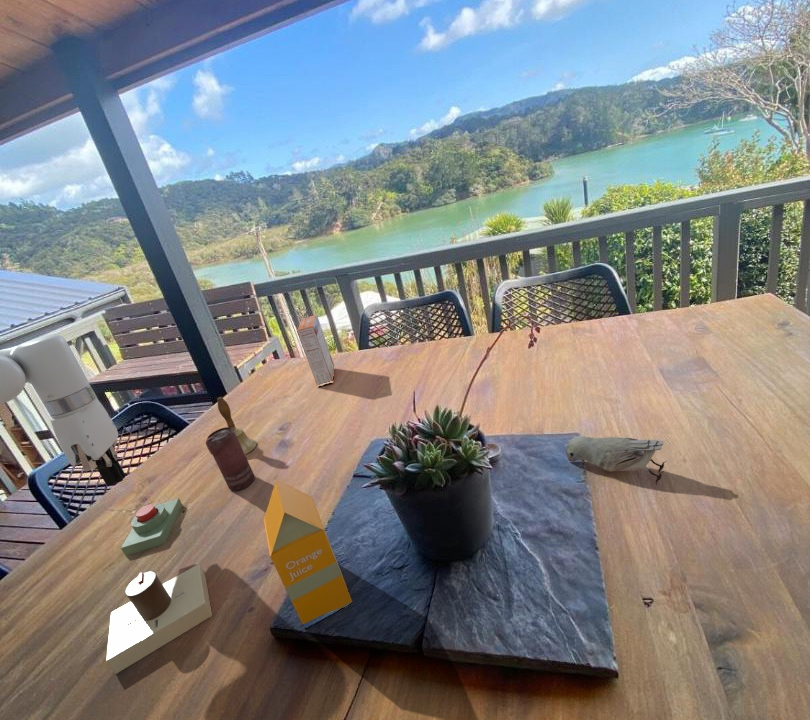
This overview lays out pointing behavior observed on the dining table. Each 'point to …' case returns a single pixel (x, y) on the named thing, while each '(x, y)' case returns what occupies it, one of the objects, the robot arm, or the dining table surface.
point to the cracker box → (316, 349)
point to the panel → (158, 620)
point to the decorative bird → (615, 453)
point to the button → (146, 513)
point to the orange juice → (303, 553)
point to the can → (230, 458)
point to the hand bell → (244, 441)
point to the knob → (148, 595)
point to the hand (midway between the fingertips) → (116, 480)
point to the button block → (152, 528)
